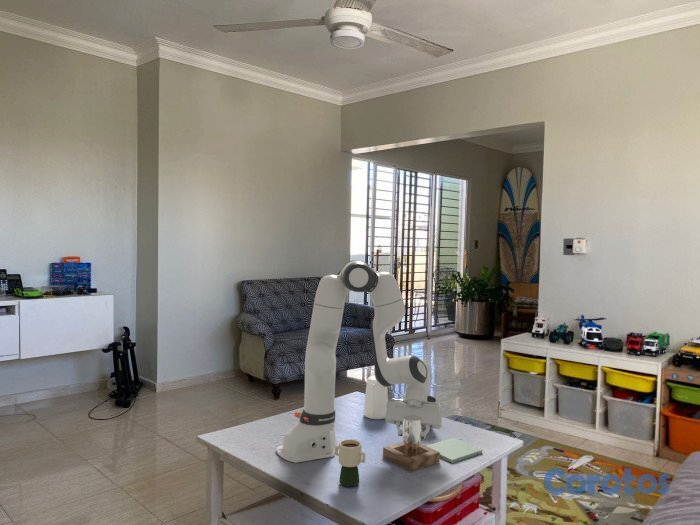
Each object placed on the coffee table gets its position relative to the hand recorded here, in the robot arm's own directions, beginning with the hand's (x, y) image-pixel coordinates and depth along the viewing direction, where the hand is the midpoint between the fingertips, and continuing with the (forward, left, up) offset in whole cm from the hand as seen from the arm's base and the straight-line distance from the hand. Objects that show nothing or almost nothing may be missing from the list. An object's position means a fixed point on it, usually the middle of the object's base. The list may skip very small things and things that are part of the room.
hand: (411, 436), depth 183 cm
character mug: (-29, -3, -9) cm, 30 cm away
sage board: (+18, -3, -8) cm, 20 cm away
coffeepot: (+18, +42, -9) cm, 47 cm away
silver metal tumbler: (0, 0, -9) cm, 9 cm away
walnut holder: (0, 0, -8) cm, 8 cm away
